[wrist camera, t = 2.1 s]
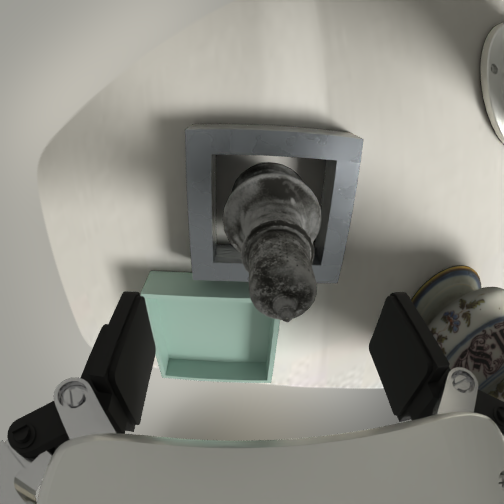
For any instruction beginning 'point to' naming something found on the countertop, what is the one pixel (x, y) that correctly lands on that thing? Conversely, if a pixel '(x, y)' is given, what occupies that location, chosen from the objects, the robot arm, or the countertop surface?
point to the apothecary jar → (466, 324)
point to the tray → (209, 329)
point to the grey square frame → (270, 144)
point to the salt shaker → (275, 238)
